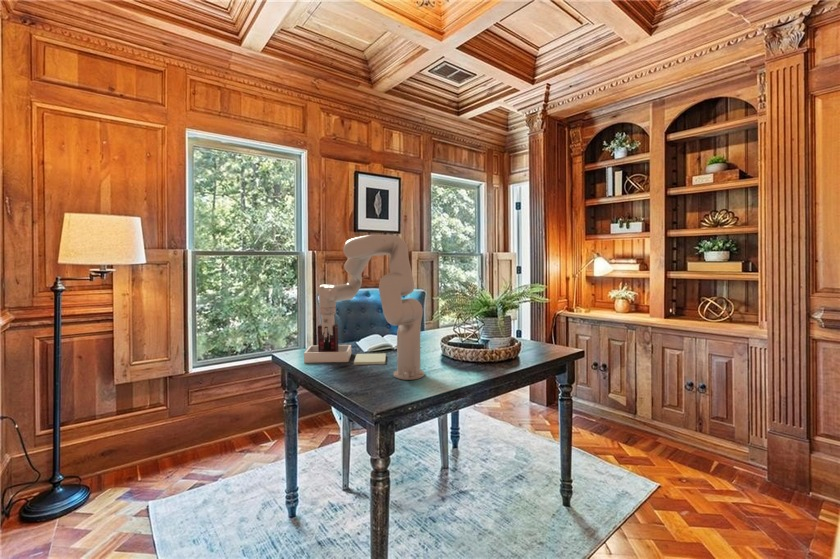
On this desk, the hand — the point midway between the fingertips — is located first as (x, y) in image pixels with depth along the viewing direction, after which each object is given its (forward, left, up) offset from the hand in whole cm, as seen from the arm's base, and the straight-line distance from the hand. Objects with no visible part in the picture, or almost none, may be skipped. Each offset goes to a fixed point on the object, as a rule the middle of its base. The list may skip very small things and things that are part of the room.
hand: (328, 348), depth 193 cm
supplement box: (0, 0, -5) cm, 5 cm away
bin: (0, 0, -5) cm, 5 cm away
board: (-5, -20, -5) cm, 21 cm away
